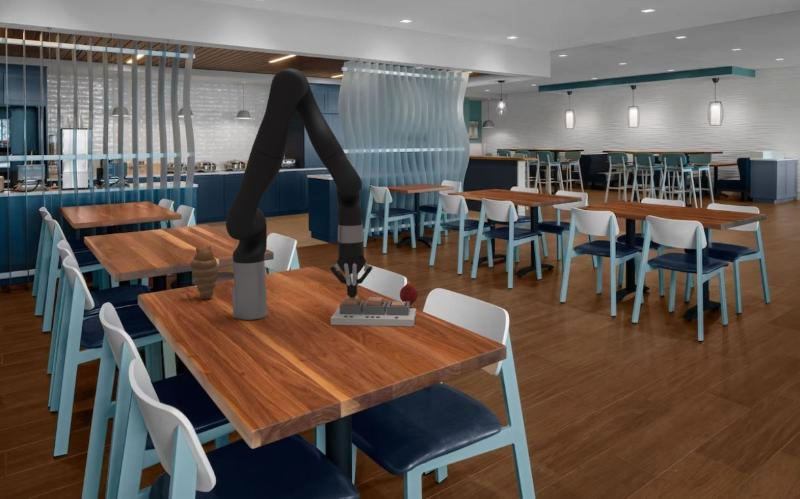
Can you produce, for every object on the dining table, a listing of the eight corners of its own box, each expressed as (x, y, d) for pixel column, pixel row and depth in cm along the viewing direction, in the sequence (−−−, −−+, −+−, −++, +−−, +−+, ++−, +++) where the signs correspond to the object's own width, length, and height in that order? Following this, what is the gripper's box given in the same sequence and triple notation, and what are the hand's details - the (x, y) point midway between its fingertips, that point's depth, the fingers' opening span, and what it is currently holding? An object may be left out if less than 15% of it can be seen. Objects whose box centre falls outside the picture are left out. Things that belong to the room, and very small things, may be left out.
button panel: (330, 324, 174) (330, 309, 174) (338, 313, 186) (338, 299, 185) (413, 326, 172) (413, 311, 172) (416, 314, 184) (416, 300, 183)
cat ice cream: (212, 294, 210) (209, 243, 207) (224, 298, 205) (221, 246, 202) (189, 299, 204) (185, 247, 201) (200, 303, 198) (197, 249, 195)
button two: (344, 306, 179) (344, 299, 179) (346, 302, 183) (346, 296, 183) (357, 306, 179) (357, 300, 178) (359, 303, 183) (359, 296, 182)
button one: (391, 311, 178) (391, 305, 178) (392, 308, 182) (392, 301, 182) (404, 311, 178) (404, 305, 177) (405, 308, 182) (405, 301, 181)
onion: (415, 308, 191) (415, 284, 189) (398, 307, 192) (398, 283, 191) (419, 304, 196) (419, 280, 195) (401, 303, 198) (401, 279, 196)
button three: (367, 306, 178) (367, 300, 178) (369, 303, 182) (369, 297, 182) (380, 307, 178) (380, 300, 178) (382, 303, 182) (382, 297, 182)
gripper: (325, 241, 174) (328, 300, 177) (371, 241, 173) (372, 300, 176) (331, 238, 181) (333, 294, 184) (374, 237, 180) (376, 294, 183)
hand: (352, 297), depth 180 cm, fingers closed
